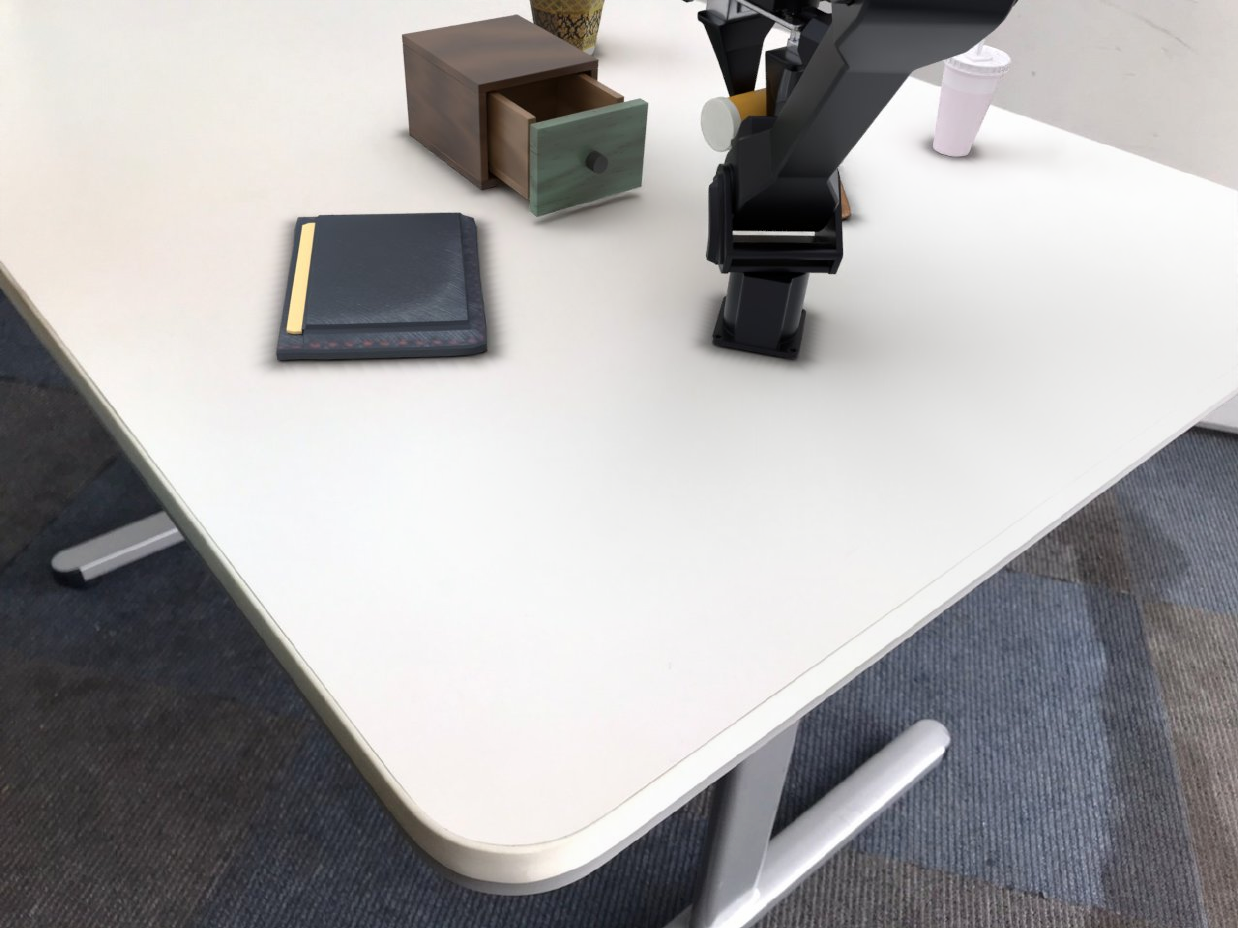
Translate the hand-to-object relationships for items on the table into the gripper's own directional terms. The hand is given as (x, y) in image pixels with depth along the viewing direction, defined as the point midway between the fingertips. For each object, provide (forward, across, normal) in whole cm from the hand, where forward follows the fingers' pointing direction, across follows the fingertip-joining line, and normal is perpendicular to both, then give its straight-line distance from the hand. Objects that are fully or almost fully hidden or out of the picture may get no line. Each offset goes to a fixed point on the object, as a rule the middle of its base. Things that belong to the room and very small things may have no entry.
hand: (758, 124), depth 77 cm
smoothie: (+13, +6, -35) cm, 38 cm away
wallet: (+12, +11, +27) cm, 31 cm away
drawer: (+12, +19, +6) cm, 23 cm away
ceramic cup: (+14, +49, -13) cm, 52 cm away
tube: (+1, 0, 0) cm, 1 cm away
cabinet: (+13, +28, +6) cm, 32 cm away
